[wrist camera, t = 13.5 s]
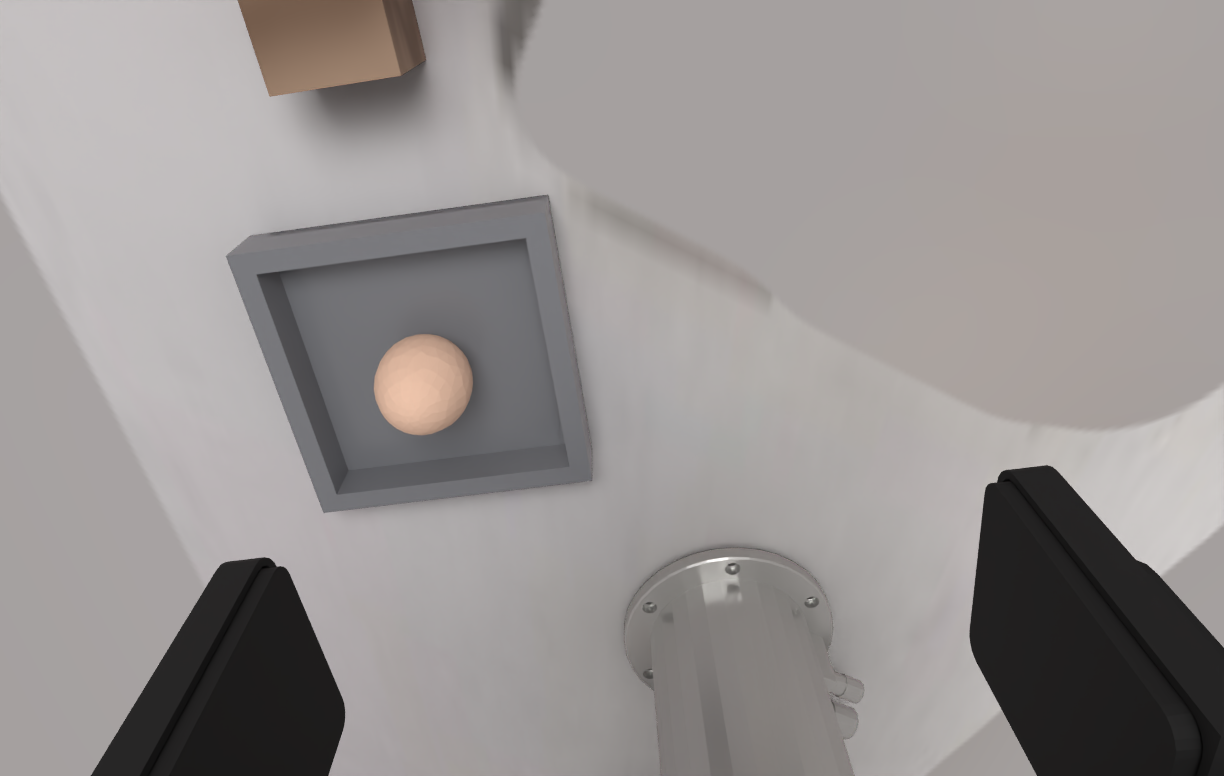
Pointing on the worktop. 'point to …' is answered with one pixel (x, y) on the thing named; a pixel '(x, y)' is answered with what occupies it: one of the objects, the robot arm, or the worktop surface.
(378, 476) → the dish
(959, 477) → the worktop surface
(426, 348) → the egg
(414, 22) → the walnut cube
